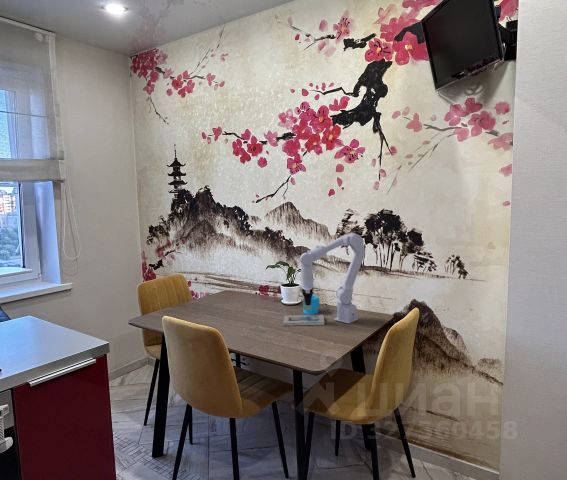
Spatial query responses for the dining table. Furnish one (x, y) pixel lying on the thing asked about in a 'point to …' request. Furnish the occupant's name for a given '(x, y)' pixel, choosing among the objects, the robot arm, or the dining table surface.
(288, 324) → the panel
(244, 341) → the dining table surface
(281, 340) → the dining table surface
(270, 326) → the dining table surface
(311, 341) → the dining table surface
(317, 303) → the mug
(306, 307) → the plug
